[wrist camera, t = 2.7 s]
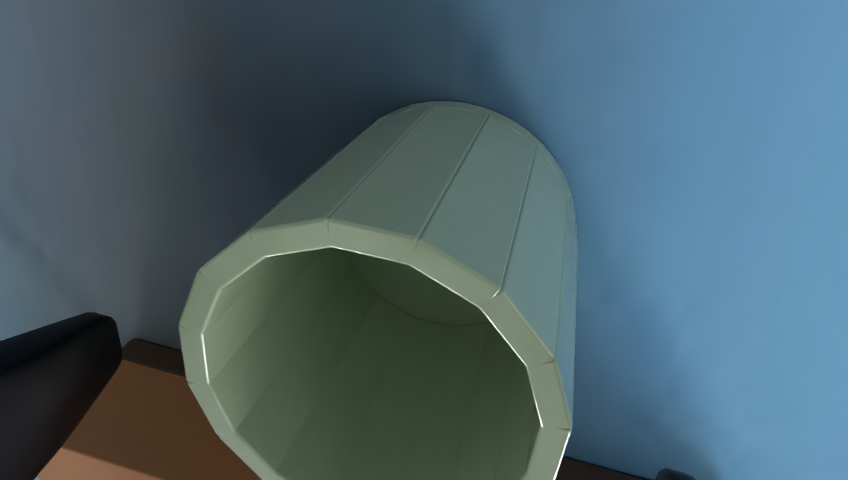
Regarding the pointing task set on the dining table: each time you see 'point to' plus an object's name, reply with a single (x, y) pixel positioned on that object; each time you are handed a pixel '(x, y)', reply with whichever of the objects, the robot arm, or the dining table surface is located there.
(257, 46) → the dining table surface
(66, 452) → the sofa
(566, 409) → the cup
